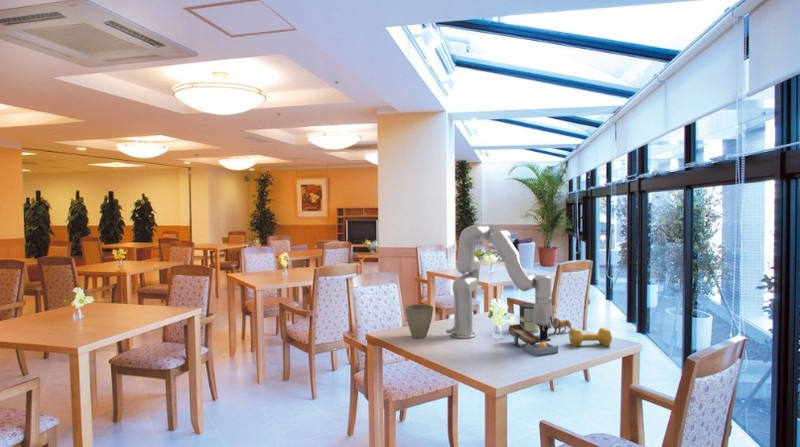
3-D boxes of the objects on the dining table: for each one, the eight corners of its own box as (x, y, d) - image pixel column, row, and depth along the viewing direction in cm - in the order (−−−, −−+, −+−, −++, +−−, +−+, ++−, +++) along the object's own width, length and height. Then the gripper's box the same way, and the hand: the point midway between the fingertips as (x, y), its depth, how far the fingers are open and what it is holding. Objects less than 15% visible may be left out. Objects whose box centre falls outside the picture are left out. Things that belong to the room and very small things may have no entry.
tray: (524, 350, 225) (524, 343, 225) (544, 347, 229) (544, 340, 229) (537, 356, 216) (537, 349, 216) (558, 352, 220) (558, 346, 220)
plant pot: (412, 342, 241) (412, 310, 241) (400, 335, 255) (400, 305, 255) (438, 338, 247) (438, 308, 247) (425, 332, 261) (425, 303, 261)
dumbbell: (605, 342, 237) (605, 326, 237) (613, 347, 228) (613, 330, 228) (567, 342, 238) (567, 326, 237) (573, 348, 229) (573, 331, 228)
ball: (540, 341, 220) (535, 344, 223) (543, 350, 218) (538, 352, 221) (547, 340, 222) (542, 343, 225) (550, 349, 220) (545, 351, 223)
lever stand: (511, 345, 234) (511, 333, 234) (530, 342, 239) (530, 331, 239) (516, 347, 230) (516, 335, 230) (535, 344, 235) (535, 333, 235)
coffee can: (515, 330, 262) (515, 305, 262) (525, 327, 269) (525, 302, 269) (532, 333, 255) (532, 307, 254) (542, 330, 262) (542, 304, 261)
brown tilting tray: (508, 333, 240) (509, 325, 239) (530, 330, 246) (531, 322, 245) (526, 347, 227) (527, 338, 226) (550, 343, 232) (551, 335, 231)
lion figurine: (556, 335, 250) (556, 318, 250) (548, 333, 255) (548, 317, 255) (575, 331, 258) (575, 315, 258) (567, 329, 263) (567, 313, 262)
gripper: (527, 299, 236) (527, 335, 237) (547, 304, 223) (548, 343, 223) (539, 297, 239) (539, 334, 240) (560, 302, 226) (560, 341, 226)
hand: (543, 338), depth 231 cm, fingers closed
